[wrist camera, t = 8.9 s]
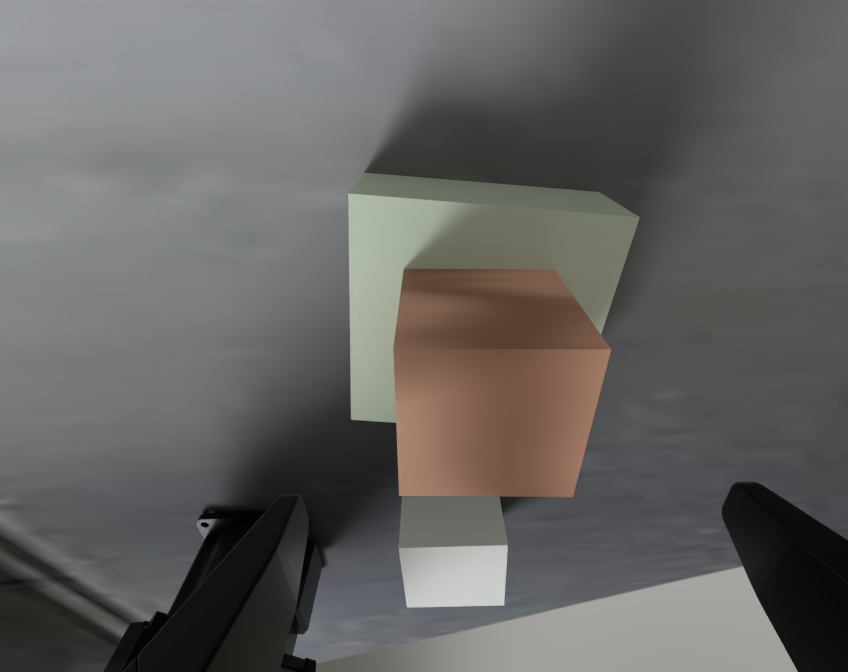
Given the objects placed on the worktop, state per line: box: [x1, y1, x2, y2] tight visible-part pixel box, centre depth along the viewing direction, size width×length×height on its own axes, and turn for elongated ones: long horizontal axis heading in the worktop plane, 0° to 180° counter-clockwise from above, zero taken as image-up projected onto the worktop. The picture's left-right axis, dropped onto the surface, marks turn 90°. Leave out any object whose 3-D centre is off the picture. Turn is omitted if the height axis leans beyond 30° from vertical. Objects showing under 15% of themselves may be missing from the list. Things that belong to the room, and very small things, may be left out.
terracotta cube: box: [393, 269, 611, 497], centre depth 13 cm, size 5×5×5 cm
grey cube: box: [399, 496, 508, 607], centre depth 23 cm, size 5×5×5 cm
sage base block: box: [348, 173, 640, 423], centre depth 17 cm, size 9×9×4 cm
